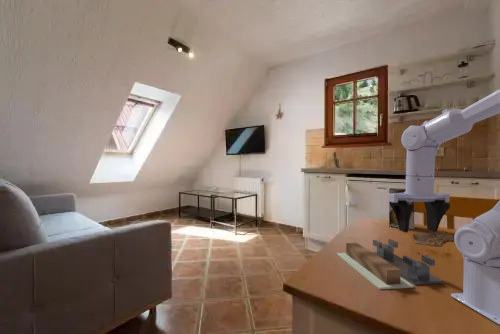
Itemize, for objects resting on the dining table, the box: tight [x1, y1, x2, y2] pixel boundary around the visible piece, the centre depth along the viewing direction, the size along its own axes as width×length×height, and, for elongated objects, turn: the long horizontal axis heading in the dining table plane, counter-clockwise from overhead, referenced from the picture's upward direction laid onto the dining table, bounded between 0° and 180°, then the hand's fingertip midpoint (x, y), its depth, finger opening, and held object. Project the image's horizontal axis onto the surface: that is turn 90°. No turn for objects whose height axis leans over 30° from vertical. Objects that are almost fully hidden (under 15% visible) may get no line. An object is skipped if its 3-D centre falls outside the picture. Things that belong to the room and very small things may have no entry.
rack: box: [372, 238, 444, 286], centre depth 63 cm, size 18×7×5 cm, turn 6°
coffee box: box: [388, 187, 415, 230], centre depth 103 cm, size 9×6×16 cm
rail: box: [345, 242, 401, 285], centre depth 62 cm, size 18×3×3 cm, turn 6°
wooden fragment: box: [413, 230, 454, 247], centre depth 88 cm, size 26×11×1 cm, turn 122°
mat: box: [336, 252, 415, 290], centre depth 62 cm, size 20×8×1 cm, turn 6°
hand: (417, 230), depth 60 cm, fingers open, 7 cm apart
